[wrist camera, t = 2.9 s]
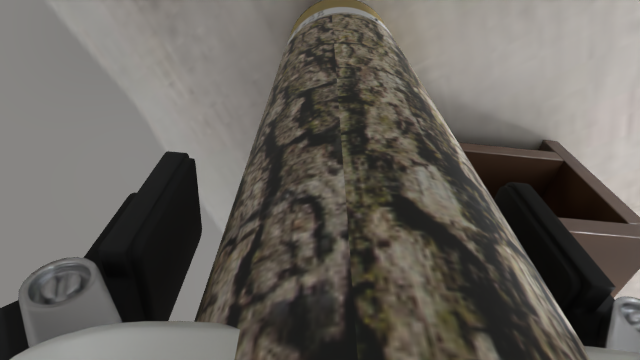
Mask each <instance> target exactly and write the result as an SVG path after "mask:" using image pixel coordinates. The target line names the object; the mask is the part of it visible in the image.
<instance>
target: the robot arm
mask: <svg viewBox="0 0 640 360" xmlns="http://www.w3.org/2000/svg"><path fill="white" fill-rule="evenodd" d="M494 202H495V203H496V205H497V207H498V208H499V210H500V211H501V213H502V215H503V216H504V218H505V219H506V221H507V223H508V224H509V226H510V228H511V229H512V231H513V232H514V234H515V236H516V237H517V239H518V241H519V242H520V244H521V245H522V247H523V249H524V250H525V252H526V253H527V255H528V257H529V258H530V260H531V262H532V263H533V265H534V266H535V268H536V270H537V271H538V273H539V275H540V276H541V278H542V279H543V281H544V283H545V284H546V286H547V287H548V289H549V291H550V292H551V294H552V296H553V297H554V299H555V300H556V302H557V304H558V305H559V307H560V309H561V310H562V312H563V313H564V315H565V317H566V318H567V320H568V321H569V323H570V325H571V326H572V328H573V330H574V331H575V333H576V334H577V336H578V338H579V339H580V341H581V342H582V344H583V346H584V347H585V351H586V353H587V355H588V356H589V358H590V360H640V299H637V298H633V297H620V298H617V299H616V300H614V298H613V297H612V296H611V295H610V294H611V293H612V292H613V290H614V289H615V288H616V287H615V285H614V284H613V283H612V282H611V281H610V279H609V278H608V277H607V276H606V275H605V273H604V272H603V271H602V270H601V269H600V267H599V266H598V265H597V264H596V263H595V262H594V260H593V259H592V258H591V257H590V256H589V254H588V253H587V252H586V251H585V250H584V248H583V247H582V246H581V245H580V244H579V242H578V241H577V240H576V239H575V238H574V236H573V235H572V234H571V233H570V232H569V231H568V229H567V228H566V227H565V226H564V225H563V223H562V222H561V221H560V220H559V219H558V217H557V216H556V215H555V214H554V213H553V211H552V210H551V209H550V208H549V207H548V205H547V204H546V203H545V202H544V201H543V200H542V198H541V197H540V196H539V195H538V194H537V192H536V191H535V190H534V189H533V188H532V186H531V185H529V184H525V183H514V182H509V183H507V184H506V185H505V186H502V187H500V188H499V190H498V192H497V194H496V196H495V198H494ZM201 233H202V224H201V214H200V204H199V194H198V184H197V174H196V164H195V160H194V159H192V158H189V156H188V154H187V153H179V152H166V153H165V154H164V155H163V157H162V158H161V160H160V161H159V163H158V164H157V165H156V167H155V168H154V170H153V171H152V172H151V174H150V175H149V177H148V178H147V180H146V181H145V183H144V184H143V185H142V187H141V188H140V190H139V191H138V192H137V193H132V194H130V195H129V196H128V197H127V199H126V200H125V201H124V203H123V204H122V206H121V207H120V208H119V210H118V211H117V213H116V214H115V215H114V217H113V218H112V219H111V221H110V222H109V224H108V225H107V226H106V228H105V229H104V230H103V232H102V233H101V234H100V236H99V237H98V239H97V240H96V241H95V243H94V244H93V245H92V247H91V248H90V250H89V251H88V253H87V254H86V255H85V256H84V258H79V257H73V258H64V259H60V260H56V261H53V262H51V263H48V264H46V265H44V266H42V267H40V268H39V269H38V270H36V271H35V272H33V273H31V275H30V276H29V277H28V278H27V279H26V280H25V281H24V282H23V284H22V285H21V287H20V289H19V295H18V296H19V297H18V301H15V302H13V303H11V304H9V305H6V306H4V307H2V308H0V360H234V359H235V354H236V349H237V344H238V338H239V333H240V330H239V329H237V328H234V327H231V326H229V325H225V324H222V323H212V322H186V321H168V320H169V317H170V315H171V312H172V310H173V307H174V305H175V302H176V300H177V297H178V294H179V292H180V289H181V286H182V284H183V282H184V279H185V276H186V274H187V271H188V269H189V266H190V264H191V261H192V258H193V256H194V253H195V251H196V248H197V246H198V243H199V240H200V237H201Z"/></svg>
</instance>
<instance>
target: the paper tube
mask: <svg viewBox="0 0 640 360" xmlns="http://www.w3.org/2000/svg"><path fill="white" fill-rule="evenodd" d="M194 322H212V323H222V324H225V325H229V326H231V327H234V328H237V329H239V330H240V333H239V338H238V344H237V349H236V354H235V359H234V360H590V358H589V356H588V355H587V353H586V351H585V347H584V346H583V344H582V342H581V341H580V339H579V338H578V336H577V334H576V333H575V331H574V330H573V328H572V326H571V325H570V323H569V321H568V320H567V318H566V317H565V315H564V313H563V312H562V310H561V309H560V307H559V305H558V304H557V302H556V300H555V299H554V297H553V296H552V294H551V292H550V291H549V289H548V287H547V286H546V284H545V283H544V281H543V279H542V278H541V276H540V275H539V273H538V271H537V270H536V268H535V266H534V265H533V263H532V262H531V260H530V258H529V257H528V255H527V253H526V252H525V250H524V249H523V247H522V245H521V244H520V242H519V241H518V239H517V237H516V236H515V234H514V232H513V231H512V229H511V228H510V226H509V224H508V223H507V221H506V219H505V218H504V216H503V215H502V213H501V211H500V210H499V208H498V207H497V205H496V203H495V202H494V200H493V198H492V197H491V195H490V194H489V192H488V190H487V189H486V187H485V186H484V184H483V182H482V181H481V179H480V177H479V176H478V174H477V173H476V171H475V169H474V168H473V166H472V164H471V163H470V161H469V160H468V158H467V156H466V155H465V153H464V152H463V150H462V148H461V147H460V145H459V143H458V142H457V140H456V139H455V137H454V135H453V134H452V132H451V130H450V129H449V127H448V126H447V124H446V122H445V121H444V119H443V118H442V116H441V114H440V113H439V111H438V109H437V108H436V106H435V105H434V103H433V101H432V100H431V98H430V97H429V95H428V93H427V92H426V90H425V88H424V87H423V85H422V84H421V82H420V80H419V79H418V77H417V75H416V74H415V72H414V71H413V69H412V67H411V66H410V64H409V63H408V61H407V59H406V58H405V56H404V54H403V53H402V51H401V50H400V48H399V46H398V45H397V43H396V41H395V40H394V38H393V37H392V35H391V33H390V32H389V30H388V29H387V28H386V26H385V25H384V23H383V21H382V20H381V18H380V17H379V16H378V14H377V13H376V12H375V11H374V10H373V9H371V8H370V7H369V6H367V5H366V4H364V3H362V2H360V1H357V0H323V1H321V2H318V3H316V4H314V5H313V6H311V7H310V8H309V9H307V10H306V11H305V12H304V13H303V14H302V15H301V16H300V18H299V19H298V20H297V22H296V23H295V25H294V27H293V29H292V31H291V34H290V37H289V40H288V43H287V45H286V48H285V52H284V54H283V57H282V60H281V63H280V66H279V69H278V72H277V75H276V78H275V81H274V84H273V87H272V90H271V93H270V96H269V99H268V102H267V105H266V108H265V111H264V114H263V117H262V120H261V123H260V126H259V129H258V132H257V135H256V138H255V141H254V144H253V147H252V150H251V153H250V156H249V159H248V162H247V165H246V168H245V171H244V174H243V177H242V180H241V183H240V186H239V189H238V192H237V195H236V198H235V201H234V204H233V207H232V210H231V213H230V216H229V219H228V222H227V225H226V228H225V231H224V234H223V237H222V240H221V243H220V246H219V249H218V252H217V255H216V258H215V261H214V264H213V267H212V270H211V273H210V276H209V279H208V282H207V285H206V288H205V291H204V294H203V297H202V300H201V303H200V306H199V309H198V312H197V315H196V318H195V321H194Z"/></svg>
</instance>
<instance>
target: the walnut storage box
mask: <svg viewBox="0 0 640 360" xmlns="http://www.w3.org/2000/svg"><path fill="white" fill-rule="evenodd" d="M459 145H460V147H461V148H462V150H463V152H464V153H465V155H466V156H467V158H468V160H469V161H470V163H471V164H472V166H473V168H474V169H475V171H476V173H477V174H478V176H479V177H480V179H481V181H482V182H483V184H484V186H485V187H486V189H487V190H488V192H489V194H490V195H491V197H492V198H493V200H494V198H495V196H496V194H497V192H498V190H499V188H500V187H502V186H505V185H506V184H507V183H509V182H514V183H525V184H529V185H531V186H532V188H533V189H534V190H535V191H536V192H537V194H538V195H539V196H540V197H541V198H542V200H543V201H544V202H545V203H546V204H547V205H548V207H549V208H550V209H551V210H552V211H553V213H554V214H555V215H556V216H557V217H558V219H559V220H560V221H561V222H562V223H563V225H564V226H565V227H566V228H567V229H568V231H569V232H570V233H571V234H572V235H573V236H574V238H575V239H576V240H577V241H578V242H579V244H580V245H581V246H582V247H583V248H584V250H585V251H586V252H587V253H588V254H589V256H590V257H591V258H592V259H593V260H594V262H595V263H596V264H597V265H598V266H599V267H600V269H601V270H602V271H603V272H604V273H605V275H606V276H607V277H608V278H609V279H610V281H611V282H612V283H613V284H614V285H615V287H616V288H615V289H614V290H613V292H612V293H611V294H610V295H611V296H612V297H613V298H614V297H615V296H616V295H617V294H618V292H619V291H620V290H621V289H622V288H623V287H624V286H625V285H626V284H627V282H628V281H629V280H630V279H631V278H632V277H633V276H634V275H635V273H636V272H637V271H638V270H639V269H640V217H639V216H638V215H637V214H636V213H634V212H633V211H632V210H631V209H630V208H629V207H628V206H627V205H626V204H625V203H624V202H622V201H621V200H620V199H619V198H618V197H617V196H616V195H615V194H614V193H613V192H612V191H611V190H609V189H608V188H607V187H606V186H605V185H604V184H603V183H602V182H601V181H600V180H599V179H598V178H596V177H595V176H594V175H593V174H592V173H591V172H590V171H589V170H588V169H587V168H586V167H584V166H583V165H582V164H581V163H580V162H579V161H578V160H577V159H576V158H575V157H574V156H573V155H571V154H570V153H569V152H568V151H567V150H566V149H565V148H564V147H563V146H562V145H561V144H560V143H558V142H557V141H547V140H543V142H542V144H541V146H540V148H539V149H538V151H537V150H527V149H517V148H507V147H497V146H488V145H478V144H468V143H459Z"/></svg>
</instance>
